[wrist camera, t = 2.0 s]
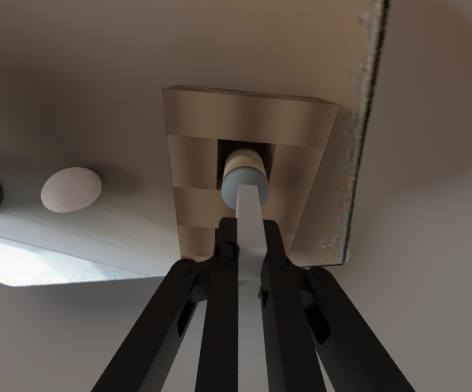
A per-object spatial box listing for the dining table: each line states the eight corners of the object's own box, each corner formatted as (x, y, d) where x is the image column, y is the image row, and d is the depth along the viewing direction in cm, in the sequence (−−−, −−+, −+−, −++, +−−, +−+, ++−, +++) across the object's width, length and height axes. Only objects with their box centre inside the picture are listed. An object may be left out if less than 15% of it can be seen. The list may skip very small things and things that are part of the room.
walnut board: (190, 243, 36) (182, 271, 31) (179, 84, 22) (162, 88, 17) (274, 249, 36) (280, 278, 31) (317, 97, 22) (340, 105, 17)
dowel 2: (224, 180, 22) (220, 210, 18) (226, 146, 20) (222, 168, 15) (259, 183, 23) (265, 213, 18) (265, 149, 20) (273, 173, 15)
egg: (111, 195, 30) (77, 228, 24) (75, 186, 29) (29, 217, 23) (110, 166, 27) (71, 194, 21) (70, 154, 27) (16, 180, 20)
